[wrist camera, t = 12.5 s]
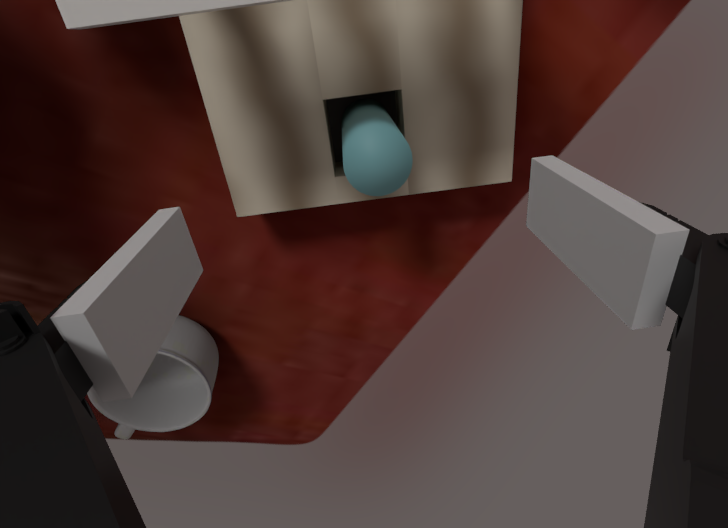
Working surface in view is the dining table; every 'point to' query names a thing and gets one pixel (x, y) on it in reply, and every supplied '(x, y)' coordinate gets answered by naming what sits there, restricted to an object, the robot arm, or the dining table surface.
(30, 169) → the dining table surface
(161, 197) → the dining table surface
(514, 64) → the socket block
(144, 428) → the teacup
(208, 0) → the grey piece
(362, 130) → the peg
